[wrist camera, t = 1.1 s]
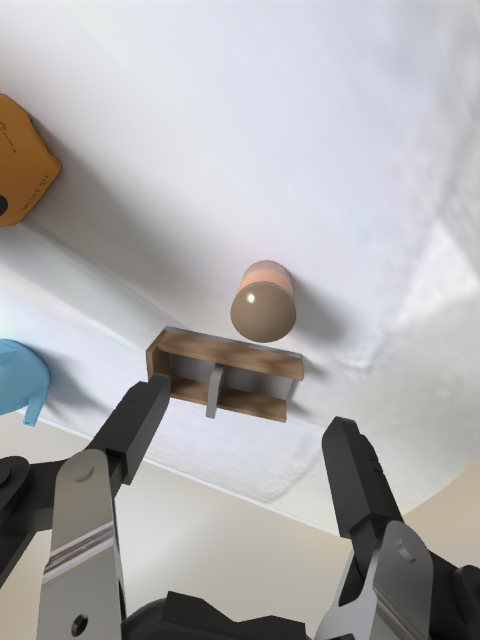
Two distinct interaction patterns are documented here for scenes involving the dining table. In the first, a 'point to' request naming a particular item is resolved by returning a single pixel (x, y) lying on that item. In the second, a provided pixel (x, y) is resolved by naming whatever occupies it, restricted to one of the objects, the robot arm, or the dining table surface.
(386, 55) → the dining table surface
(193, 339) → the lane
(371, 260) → the dining table surface
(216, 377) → the plate
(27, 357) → the teapot
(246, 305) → the jar
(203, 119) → the dining table surface
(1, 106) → the coffee package
